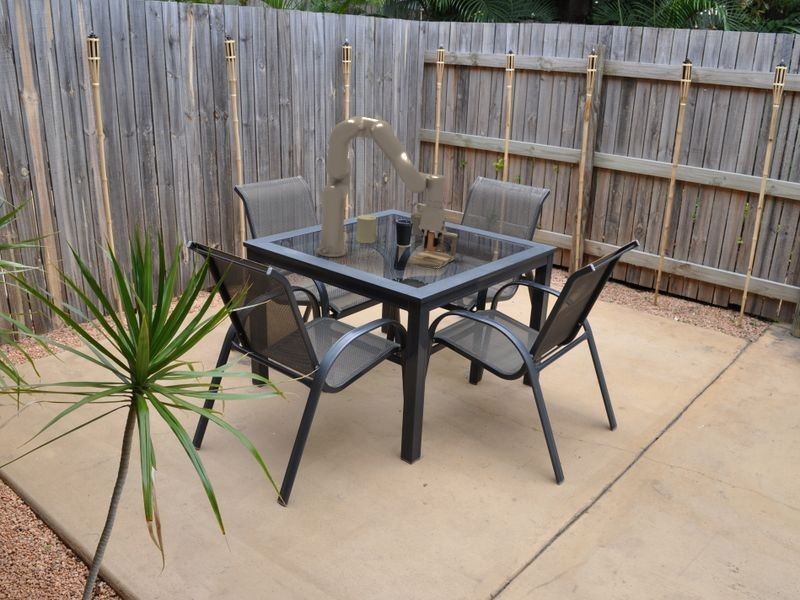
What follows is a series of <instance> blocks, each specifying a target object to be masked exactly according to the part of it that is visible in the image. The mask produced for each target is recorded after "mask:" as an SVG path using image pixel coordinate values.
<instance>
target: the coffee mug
mask: <svg viewBox="0 0 800 600" xmlns="http://www.w3.org/2000/svg"><path fill="white" fill-rule="evenodd" d="M421 215H422V212H412V213H410V221H409V223H410V222H412V223H413V234H414V235H418V236H423V232H422V231H421V230H420V229H419V228H418V226H419V225H420V221H421ZM418 236H417V237H418Z"/></svg>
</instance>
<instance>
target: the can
mask: <svg viewBox="0 0 800 600" xmlns="http://www.w3.org/2000/svg"><path fill="white" fill-rule="evenodd" d="M356 218H357V219H356V221H357V222H356V237H355V241H356V242H357V243H360V244H366V243H369V244H374V243H376V230H377V229H376V228H377V217H376V216H374V215H370V214H369V215H368V214H365V215H364V214H362V215H360V214H359V215H358V216H357V217H356Z"/></svg>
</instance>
